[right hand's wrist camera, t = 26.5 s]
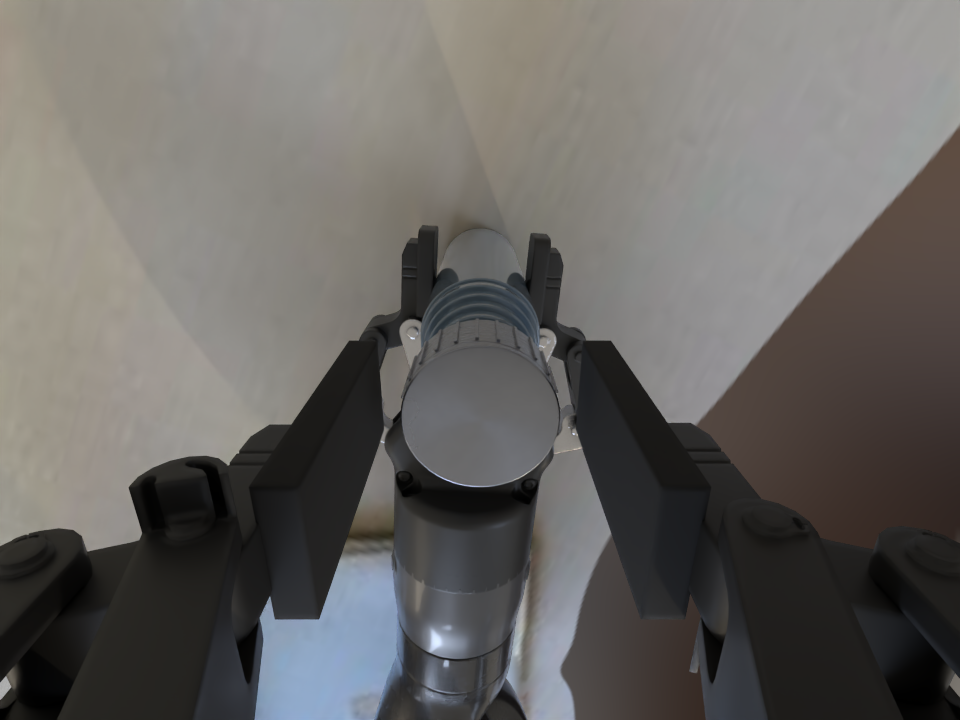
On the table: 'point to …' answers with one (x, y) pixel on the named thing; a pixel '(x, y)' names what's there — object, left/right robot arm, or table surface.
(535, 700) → the table surface
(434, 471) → the cap
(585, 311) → the table surface
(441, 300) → the bottle
